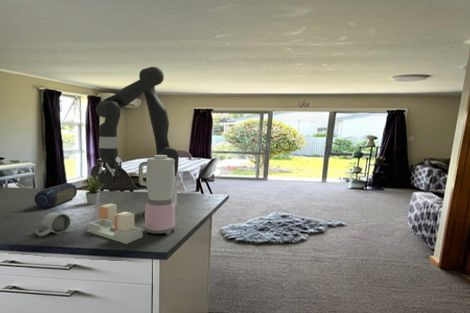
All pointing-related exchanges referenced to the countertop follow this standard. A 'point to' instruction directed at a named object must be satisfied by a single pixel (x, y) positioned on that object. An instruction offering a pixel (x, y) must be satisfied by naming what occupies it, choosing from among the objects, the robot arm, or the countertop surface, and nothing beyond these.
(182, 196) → the countertop surface
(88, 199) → the house plant
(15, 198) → the countertop surface
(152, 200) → the blender
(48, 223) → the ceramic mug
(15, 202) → the countertop surface
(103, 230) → the rail
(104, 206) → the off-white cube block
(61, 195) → the portable speaker
